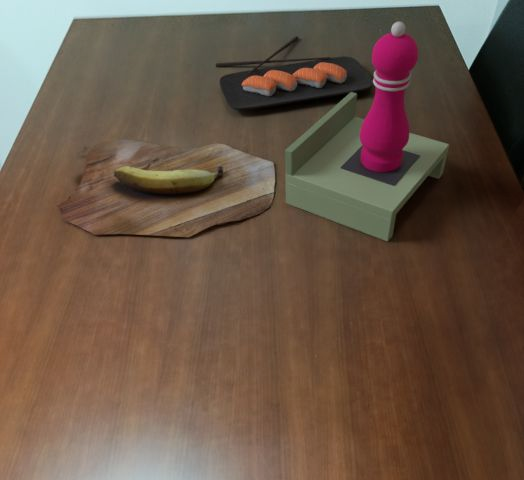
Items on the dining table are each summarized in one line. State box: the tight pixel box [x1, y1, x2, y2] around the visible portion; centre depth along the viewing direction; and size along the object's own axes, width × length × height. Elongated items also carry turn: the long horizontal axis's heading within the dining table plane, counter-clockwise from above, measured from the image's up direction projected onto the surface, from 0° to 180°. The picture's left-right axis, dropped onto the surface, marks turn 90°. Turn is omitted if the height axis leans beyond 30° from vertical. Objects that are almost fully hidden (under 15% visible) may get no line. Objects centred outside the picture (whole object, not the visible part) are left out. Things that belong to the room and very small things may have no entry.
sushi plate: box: [215, 35, 374, 111], centre depth 119 cm, size 29×30×4 cm
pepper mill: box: [360, 21, 419, 172], centre depth 82 cm, size 7×7×20 cm
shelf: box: [284, 92, 450, 242], centre depth 91 cm, size 18×20×10 cm
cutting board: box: [55, 138, 276, 238], centre depth 96 cm, size 35×27×4 cm
